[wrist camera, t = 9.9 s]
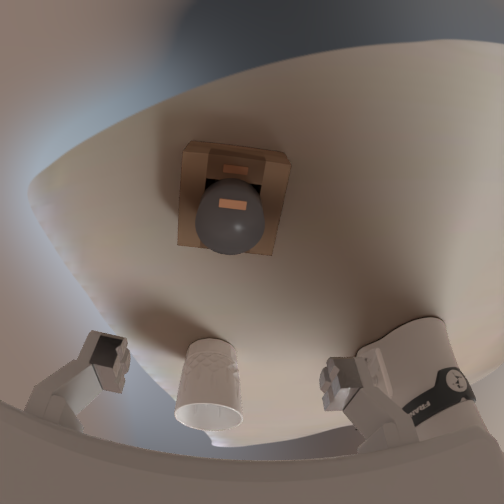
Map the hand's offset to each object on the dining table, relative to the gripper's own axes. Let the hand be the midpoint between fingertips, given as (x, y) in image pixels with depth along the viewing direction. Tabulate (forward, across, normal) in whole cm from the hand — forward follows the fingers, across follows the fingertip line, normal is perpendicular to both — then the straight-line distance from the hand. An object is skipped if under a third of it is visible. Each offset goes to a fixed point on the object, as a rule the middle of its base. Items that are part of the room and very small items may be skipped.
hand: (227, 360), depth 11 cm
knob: (+17, 0, 0) cm, 17 cm away
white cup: (+19, +1, +23) cm, 29 cm away
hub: (+18, 0, 0) cm, 18 cm away
